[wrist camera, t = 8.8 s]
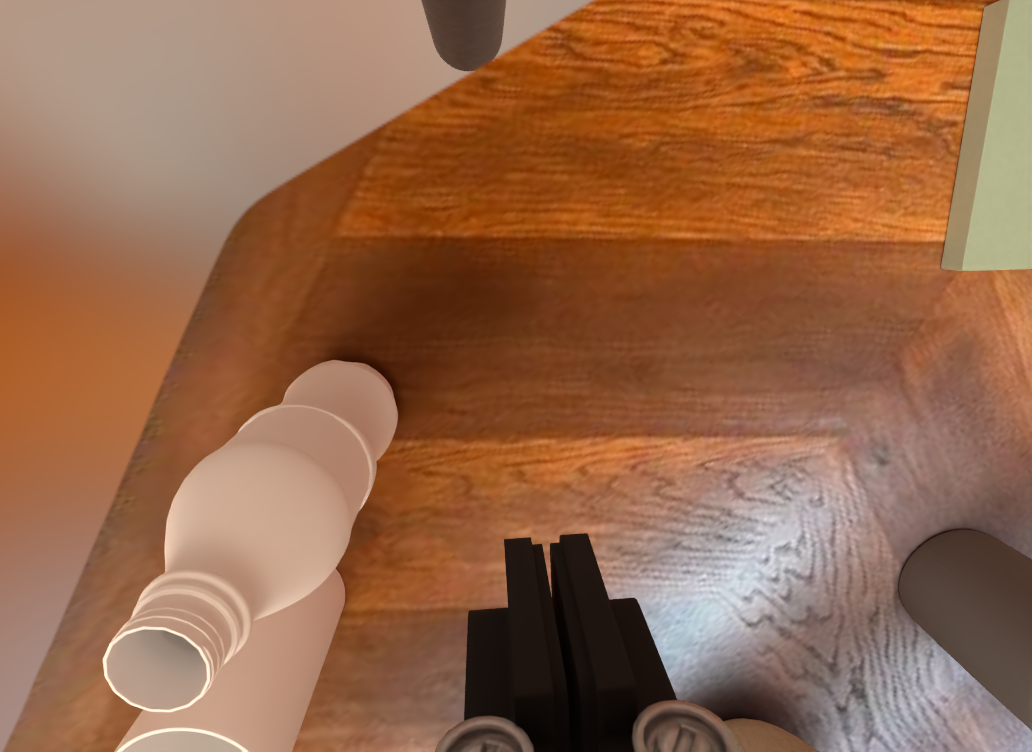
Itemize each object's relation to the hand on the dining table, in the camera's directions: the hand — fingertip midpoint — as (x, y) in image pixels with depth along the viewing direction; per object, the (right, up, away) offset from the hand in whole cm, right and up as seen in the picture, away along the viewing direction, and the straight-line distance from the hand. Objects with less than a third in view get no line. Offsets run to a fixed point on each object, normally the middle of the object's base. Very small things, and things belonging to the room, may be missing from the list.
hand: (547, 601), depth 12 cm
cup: (-18, -12, +33) cm, 39 cm away
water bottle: (-12, +3, +29) cm, 32 cm away
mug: (+36, -13, +36) cm, 53 cm away
